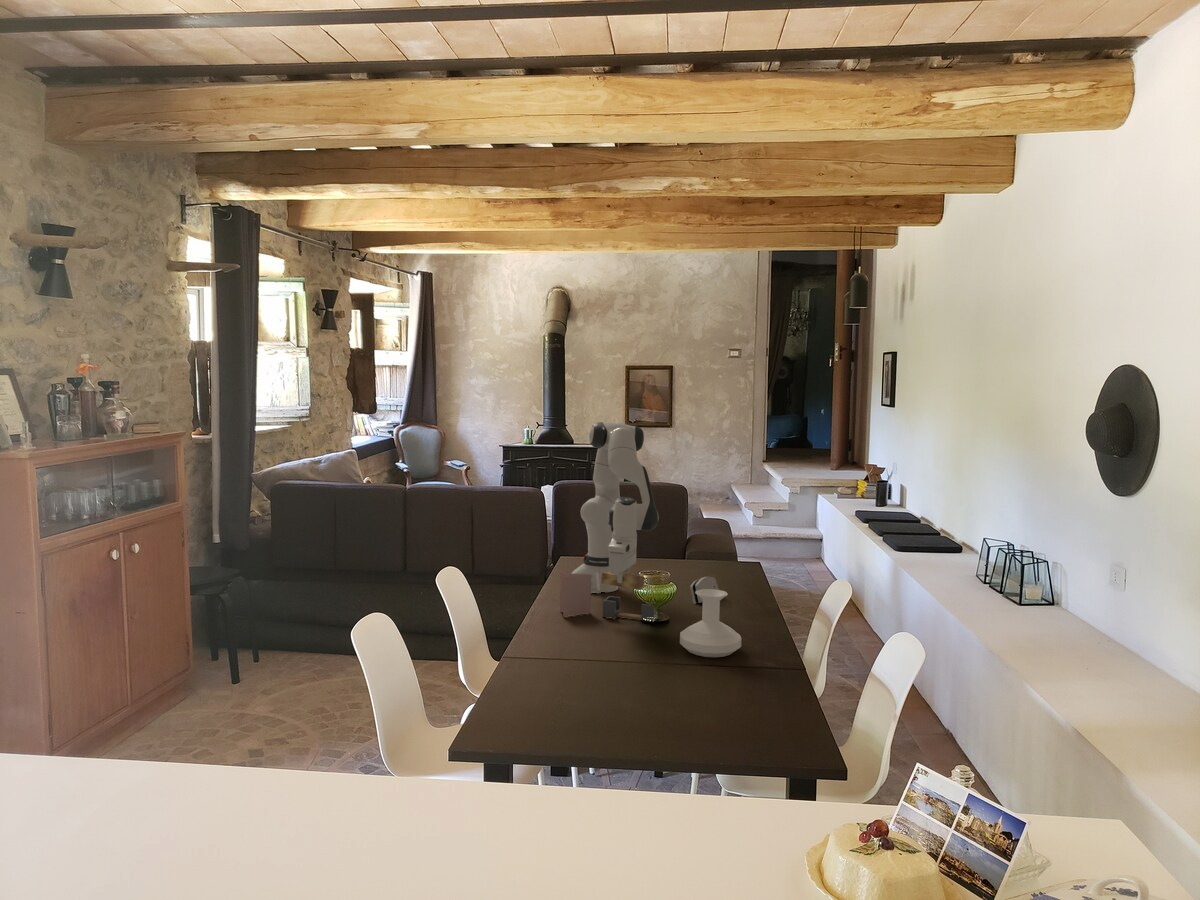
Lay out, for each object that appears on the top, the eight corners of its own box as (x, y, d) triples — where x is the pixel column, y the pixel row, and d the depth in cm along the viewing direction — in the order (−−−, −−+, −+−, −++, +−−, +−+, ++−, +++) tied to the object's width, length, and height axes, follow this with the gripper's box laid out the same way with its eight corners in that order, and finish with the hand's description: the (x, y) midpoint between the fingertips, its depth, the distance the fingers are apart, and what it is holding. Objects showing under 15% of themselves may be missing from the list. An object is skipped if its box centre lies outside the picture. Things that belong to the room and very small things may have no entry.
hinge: (704, 605, 319) (697, 580, 320) (694, 607, 322) (687, 583, 323) (724, 596, 333) (717, 572, 334) (714, 598, 335) (707, 574, 337)
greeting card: (590, 613, 307) (591, 573, 306) (588, 618, 300) (588, 578, 299) (560, 611, 308) (560, 572, 307) (557, 617, 301) (557, 577, 300)
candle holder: (735, 665, 253) (737, 604, 252) (672, 657, 260) (673, 597, 258) (745, 645, 272) (747, 588, 270) (686, 638, 279) (688, 583, 277)
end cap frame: (602, 617, 301) (603, 600, 301) (608, 613, 308) (608, 596, 307) (653, 623, 295) (653, 605, 295) (658, 618, 302) (658, 601, 301)
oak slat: (601, 583, 296) (601, 572, 296) (605, 581, 300) (605, 570, 299) (639, 589, 290) (640, 578, 290) (643, 587, 293) (643, 576, 293)
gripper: (625, 536, 304) (623, 573, 305) (606, 547, 285) (604, 586, 286) (641, 538, 302) (639, 575, 303) (623, 549, 283) (621, 588, 284)
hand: (622, 581), depth 295 cm, fingers closed on oak slat, 4 cm apart
